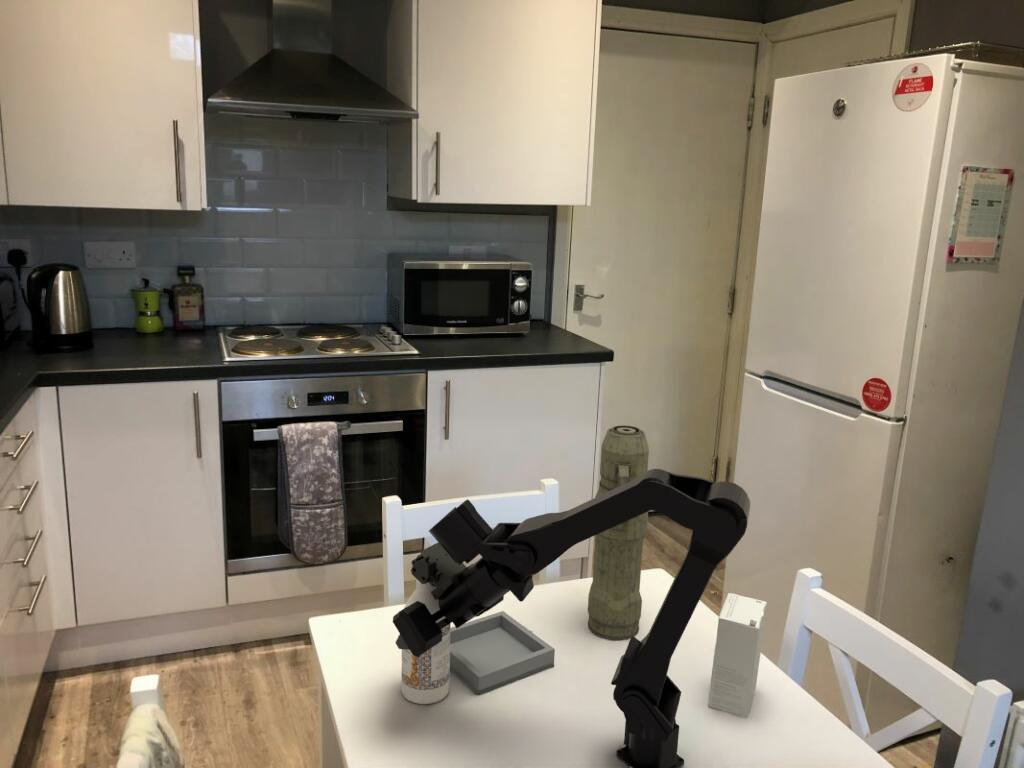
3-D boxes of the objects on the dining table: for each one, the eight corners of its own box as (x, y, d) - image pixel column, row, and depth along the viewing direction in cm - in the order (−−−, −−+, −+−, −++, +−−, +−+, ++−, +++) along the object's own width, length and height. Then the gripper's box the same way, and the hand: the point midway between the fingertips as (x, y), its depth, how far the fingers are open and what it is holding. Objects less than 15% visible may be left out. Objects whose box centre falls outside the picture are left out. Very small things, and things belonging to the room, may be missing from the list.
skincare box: (717, 679, 128) (726, 590, 125) (758, 689, 126) (768, 599, 122) (706, 709, 121) (716, 615, 117) (749, 720, 118) (760, 625, 115)
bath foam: (394, 685, 124) (394, 560, 119) (438, 673, 127) (439, 551, 122) (411, 711, 118) (412, 580, 113) (456, 698, 121) (459, 571, 117)
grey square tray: (553, 666, 130) (554, 649, 129) (478, 695, 122) (479, 677, 121) (502, 627, 141) (502, 610, 140) (430, 651, 133) (430, 634, 132)
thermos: (635, 610, 148) (649, 420, 140) (643, 646, 136) (659, 441, 128) (585, 608, 148) (596, 418, 140) (589, 644, 137) (601, 439, 129)
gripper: (489, 513, 122) (430, 562, 130) (403, 557, 107) (343, 609, 115) (532, 578, 119) (469, 624, 128) (451, 632, 104) (385, 680, 113)
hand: (418, 632), depth 121 cm, fingers open, 9 cm apart
